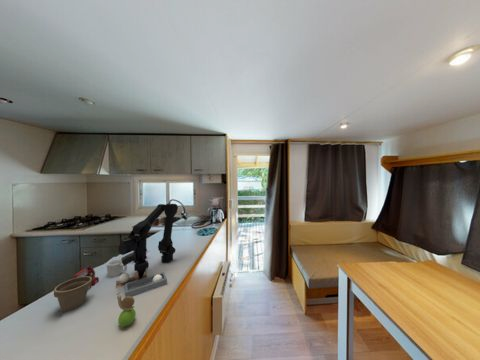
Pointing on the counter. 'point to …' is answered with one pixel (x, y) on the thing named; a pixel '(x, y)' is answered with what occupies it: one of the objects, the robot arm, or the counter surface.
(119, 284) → the rack
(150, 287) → the trough
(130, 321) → the snail figurine
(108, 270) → the cup
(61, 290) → the flower pot
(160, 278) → the ball ivory trough
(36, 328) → the counter surface
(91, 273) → the toy fire truck
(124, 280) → the ball ivory rack
